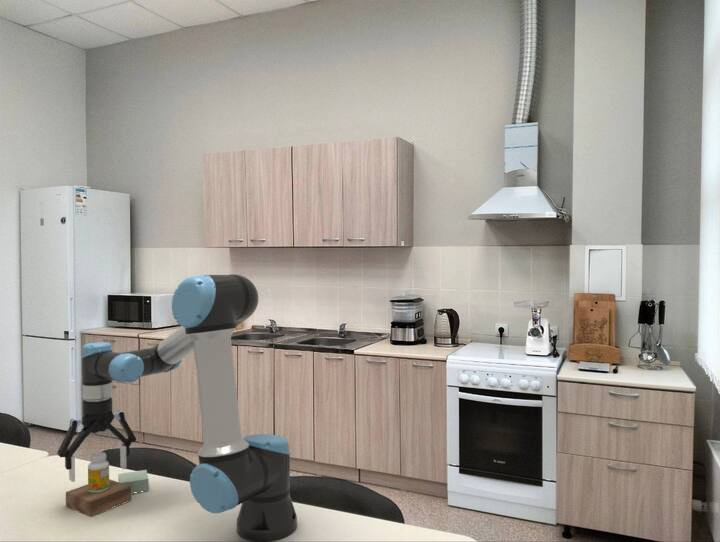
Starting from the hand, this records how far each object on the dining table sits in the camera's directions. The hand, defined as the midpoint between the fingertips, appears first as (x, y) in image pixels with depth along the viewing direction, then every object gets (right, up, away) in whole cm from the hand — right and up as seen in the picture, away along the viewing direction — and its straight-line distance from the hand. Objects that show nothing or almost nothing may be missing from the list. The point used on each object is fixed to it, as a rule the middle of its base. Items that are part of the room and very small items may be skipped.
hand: (98, 474), depth 158 cm
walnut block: (0, -8, 0) cm, 8 cm away
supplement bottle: (0, -5, 0) cm, 4 cm away
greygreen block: (+6, -8, +10) cm, 15 cm away
